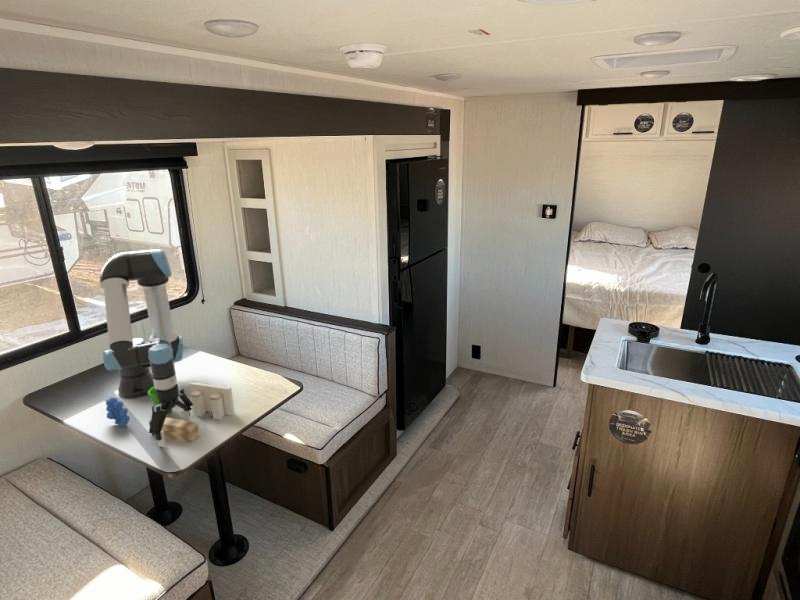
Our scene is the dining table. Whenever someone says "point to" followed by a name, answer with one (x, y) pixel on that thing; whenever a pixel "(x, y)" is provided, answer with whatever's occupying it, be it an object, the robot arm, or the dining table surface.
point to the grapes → (117, 411)
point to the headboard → (211, 400)
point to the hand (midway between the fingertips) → (175, 435)
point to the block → (180, 429)
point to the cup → (155, 398)
